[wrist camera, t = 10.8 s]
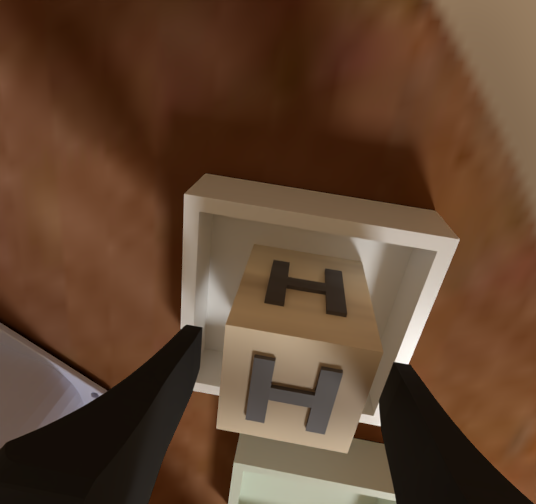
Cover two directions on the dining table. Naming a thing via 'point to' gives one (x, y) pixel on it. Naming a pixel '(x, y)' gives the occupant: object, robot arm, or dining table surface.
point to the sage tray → (309, 473)
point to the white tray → (316, 242)
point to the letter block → (299, 349)
